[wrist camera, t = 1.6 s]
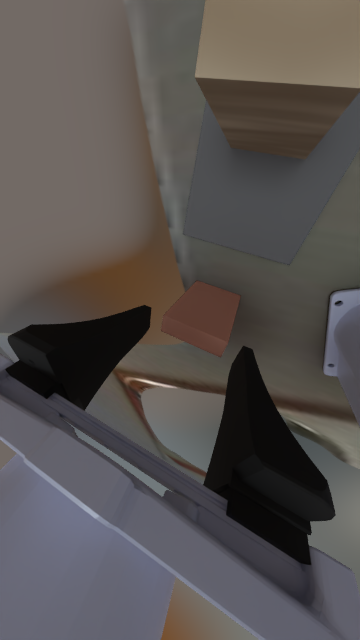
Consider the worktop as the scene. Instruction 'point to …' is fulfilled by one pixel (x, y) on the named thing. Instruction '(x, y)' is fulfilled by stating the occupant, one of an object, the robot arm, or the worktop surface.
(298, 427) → the worktop surface
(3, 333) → the worktop surface
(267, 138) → the domino
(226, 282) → the worktop surface
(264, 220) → the mat
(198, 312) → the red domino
